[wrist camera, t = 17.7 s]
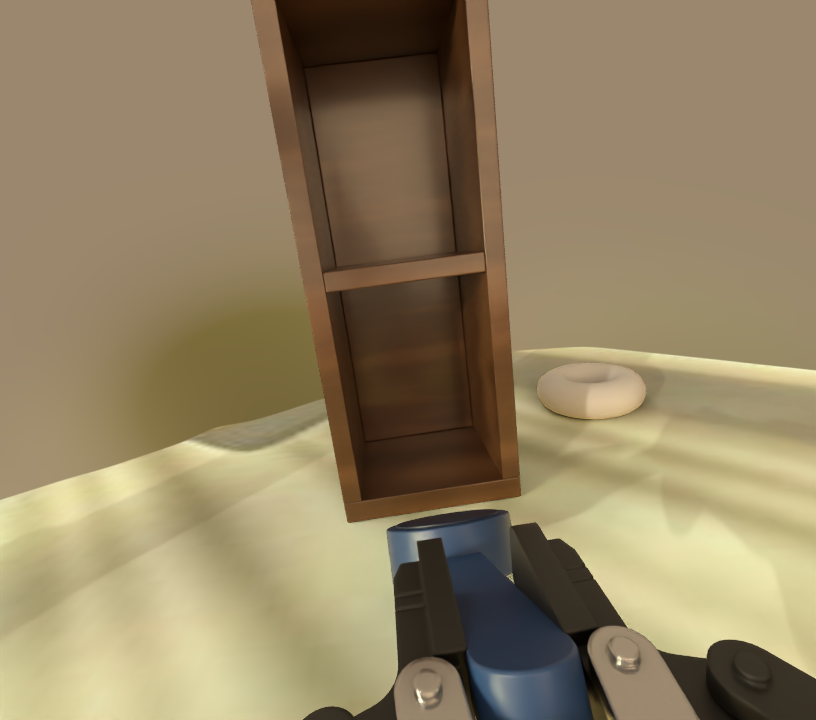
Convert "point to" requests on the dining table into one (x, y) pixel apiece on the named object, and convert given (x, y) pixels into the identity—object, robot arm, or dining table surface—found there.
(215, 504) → the dining table surface
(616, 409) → the donut
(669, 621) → the dining table surface
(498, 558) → the blue elongated piece
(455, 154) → the shelf
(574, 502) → the dining table surface
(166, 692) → the dining table surface
